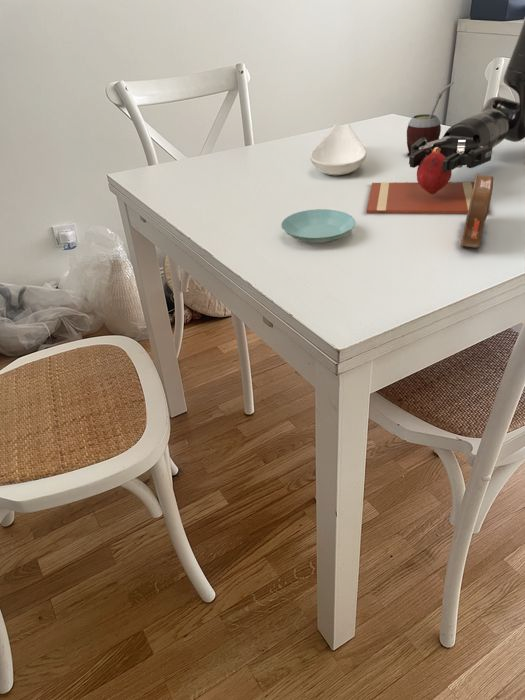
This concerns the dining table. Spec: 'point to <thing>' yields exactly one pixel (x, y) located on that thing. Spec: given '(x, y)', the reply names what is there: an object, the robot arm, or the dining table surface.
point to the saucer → (318, 225)
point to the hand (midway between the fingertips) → (428, 163)
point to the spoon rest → (338, 151)
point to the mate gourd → (424, 126)
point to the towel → (420, 198)
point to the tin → (477, 211)
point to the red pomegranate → (433, 172)
